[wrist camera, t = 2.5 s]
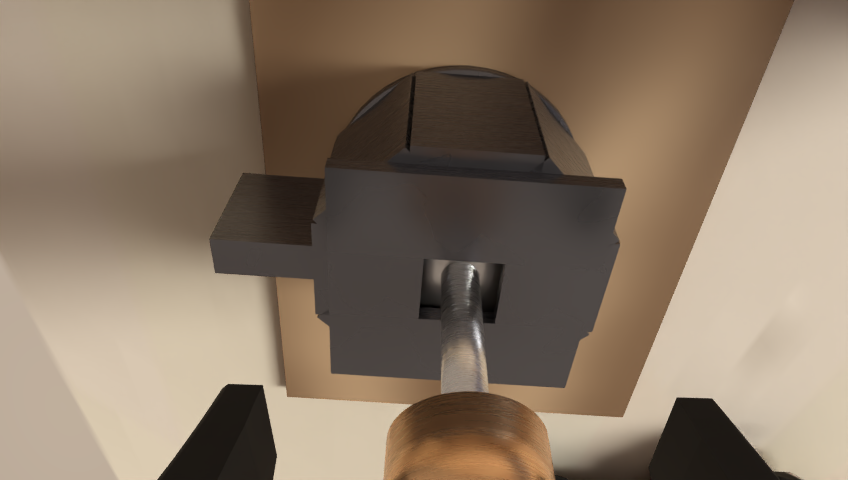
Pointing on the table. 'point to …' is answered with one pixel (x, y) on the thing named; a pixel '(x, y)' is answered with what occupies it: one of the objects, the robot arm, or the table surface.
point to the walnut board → (577, 103)
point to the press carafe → (439, 226)
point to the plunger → (465, 395)
